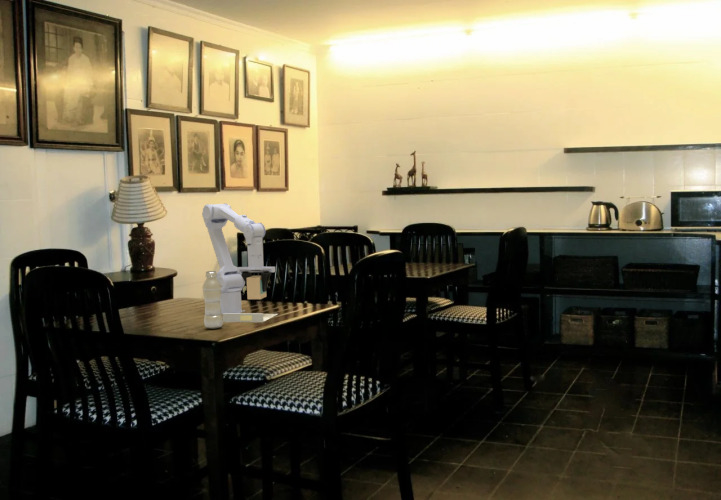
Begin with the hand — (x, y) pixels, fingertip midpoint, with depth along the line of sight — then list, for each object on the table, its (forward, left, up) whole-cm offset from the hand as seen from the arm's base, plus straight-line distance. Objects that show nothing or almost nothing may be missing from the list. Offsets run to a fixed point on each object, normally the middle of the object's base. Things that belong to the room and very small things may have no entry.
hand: (257, 291), depth 276 cm
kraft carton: (0, 0, -2) cm, 2 cm away
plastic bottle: (-8, -23, -10) cm, 26 cm away
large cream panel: (-1, -5, -10) cm, 11 cm away
